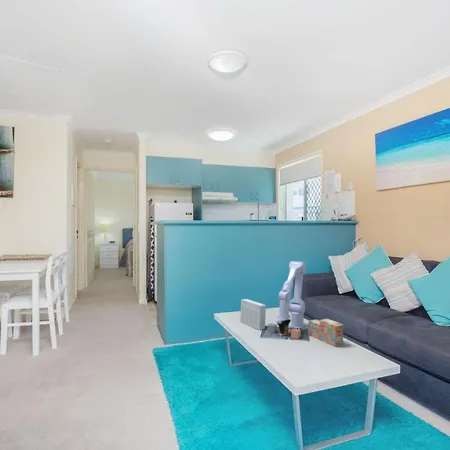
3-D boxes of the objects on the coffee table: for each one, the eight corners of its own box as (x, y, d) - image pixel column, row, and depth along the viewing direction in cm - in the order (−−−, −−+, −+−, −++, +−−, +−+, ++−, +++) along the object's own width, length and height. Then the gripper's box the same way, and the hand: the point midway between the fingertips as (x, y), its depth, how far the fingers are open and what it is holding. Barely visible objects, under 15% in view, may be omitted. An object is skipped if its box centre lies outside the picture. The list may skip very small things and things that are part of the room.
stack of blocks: (308, 335, 198) (308, 315, 198) (315, 333, 201) (316, 314, 201) (335, 347, 179) (336, 325, 179) (343, 345, 182) (343, 324, 182)
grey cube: (270, 330, 206) (270, 323, 206) (276, 331, 204) (276, 324, 204) (267, 332, 202) (267, 325, 202) (273, 333, 200) (273, 326, 200)
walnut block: (281, 332, 202) (282, 324, 202) (288, 334, 199) (288, 325, 199) (278, 334, 198) (279, 325, 198) (285, 336, 195) (285, 327, 195)
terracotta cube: (293, 335, 197) (293, 328, 197) (300, 336, 195) (300, 329, 195) (291, 337, 194) (291, 330, 194) (298, 339, 191) (298, 331, 191)
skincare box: (265, 329, 208) (266, 304, 208) (259, 330, 205) (260, 306, 205) (246, 320, 225) (246, 298, 225) (239, 321, 222) (240, 299, 222)
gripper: (282, 306, 207) (282, 327, 207) (273, 311, 195) (273, 333, 195) (293, 308, 203) (292, 329, 203) (284, 313, 191) (283, 336, 191)
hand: (283, 331), depth 199 cm, fingers open, 5 cm apart
